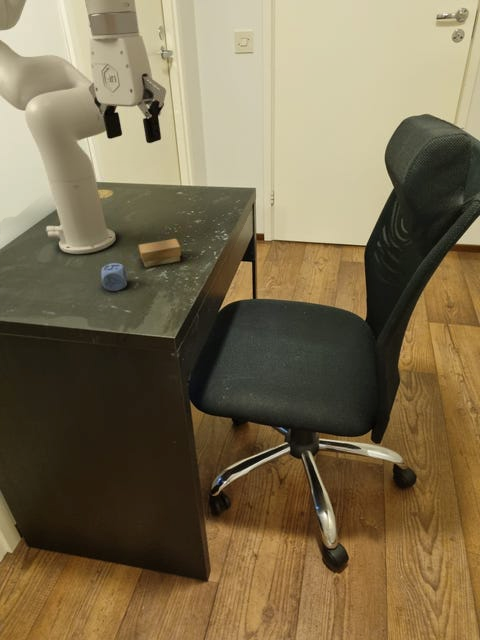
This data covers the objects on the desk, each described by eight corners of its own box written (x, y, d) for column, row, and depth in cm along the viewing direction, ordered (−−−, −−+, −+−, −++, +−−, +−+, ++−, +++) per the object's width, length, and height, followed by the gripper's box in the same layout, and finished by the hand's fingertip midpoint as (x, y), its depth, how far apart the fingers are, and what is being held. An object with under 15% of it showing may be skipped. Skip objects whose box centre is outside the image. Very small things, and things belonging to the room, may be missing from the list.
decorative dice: (126, 290, 89) (122, 271, 87) (104, 292, 89) (100, 273, 86) (127, 280, 92) (123, 261, 90) (107, 282, 92) (102, 264, 90)
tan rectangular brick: (143, 268, 96) (141, 253, 94) (141, 259, 100) (138, 244, 98) (182, 261, 98) (180, 246, 96) (178, 252, 102) (176, 238, 100)
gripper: (60, 30, 76) (85, 140, 86) (137, 26, 68) (155, 148, 77) (95, 27, 82) (115, 131, 91) (171, 23, 73) (184, 138, 82)
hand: (134, 139), depth 84 cm, fingers open, 9 cm apart
